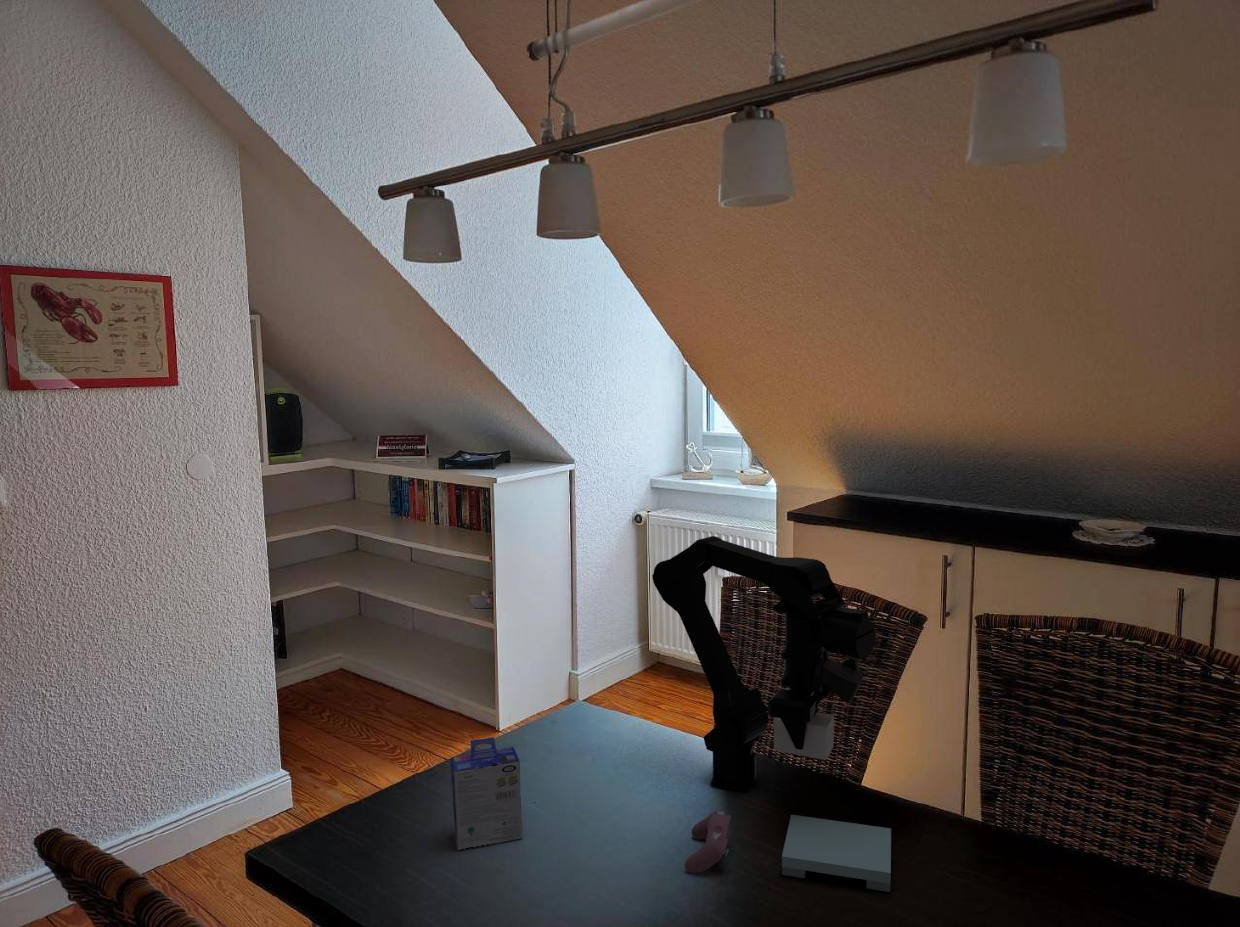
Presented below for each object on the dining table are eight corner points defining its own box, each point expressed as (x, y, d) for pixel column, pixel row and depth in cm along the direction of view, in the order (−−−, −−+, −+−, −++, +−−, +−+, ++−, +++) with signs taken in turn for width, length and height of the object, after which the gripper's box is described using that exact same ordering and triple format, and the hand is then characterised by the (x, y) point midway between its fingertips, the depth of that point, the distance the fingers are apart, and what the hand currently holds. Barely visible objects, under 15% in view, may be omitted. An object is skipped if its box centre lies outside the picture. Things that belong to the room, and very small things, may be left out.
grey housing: (826, 760, 129) (826, 723, 128) (773, 750, 133) (773, 714, 132) (833, 746, 134) (834, 710, 133) (782, 737, 137) (782, 701, 136)
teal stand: (781, 876, 117) (781, 856, 117) (791, 833, 128) (791, 814, 127) (890, 894, 113) (890, 872, 113) (890, 848, 123) (891, 828, 123)
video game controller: (711, 888, 118) (734, 847, 116) (681, 871, 118) (704, 830, 117) (717, 847, 127) (738, 809, 126) (689, 831, 128) (710, 793, 126)
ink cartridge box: (517, 820, 133) (514, 730, 131) (524, 839, 128) (521, 745, 126) (452, 832, 130) (448, 740, 128) (457, 852, 125) (452, 756, 123)
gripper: (845, 672, 119) (844, 779, 121) (870, 631, 136) (868, 726, 138) (766, 660, 124) (766, 764, 126) (799, 623, 141) (799, 715, 143)
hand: (803, 741), depth 133 cm, fingers closed on grey housing, 5 cm apart
